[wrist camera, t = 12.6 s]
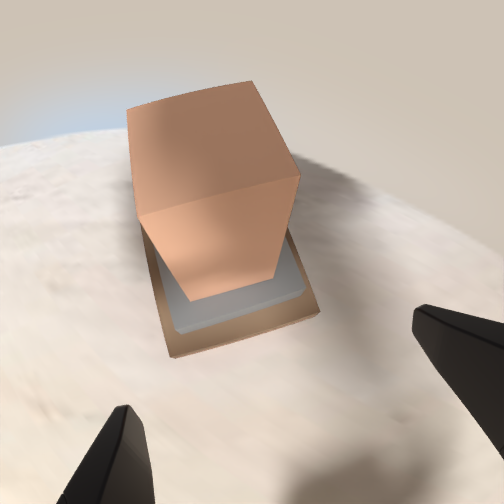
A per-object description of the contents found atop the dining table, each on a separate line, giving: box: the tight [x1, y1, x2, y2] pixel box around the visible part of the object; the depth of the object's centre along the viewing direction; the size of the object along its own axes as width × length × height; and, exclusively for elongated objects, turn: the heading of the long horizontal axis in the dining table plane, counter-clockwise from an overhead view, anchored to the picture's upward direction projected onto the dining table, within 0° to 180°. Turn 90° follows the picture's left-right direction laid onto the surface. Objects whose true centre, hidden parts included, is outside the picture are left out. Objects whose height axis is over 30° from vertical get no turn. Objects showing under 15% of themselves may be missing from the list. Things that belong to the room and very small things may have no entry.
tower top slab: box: [153, 237, 306, 335], centre depth 20 cm, size 8×8×2 cm
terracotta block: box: [127, 81, 301, 302], centre depth 15 cm, size 5×5×10 cm
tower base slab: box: [140, 223, 320, 359], centre depth 22 cm, size 10×10×2 cm
